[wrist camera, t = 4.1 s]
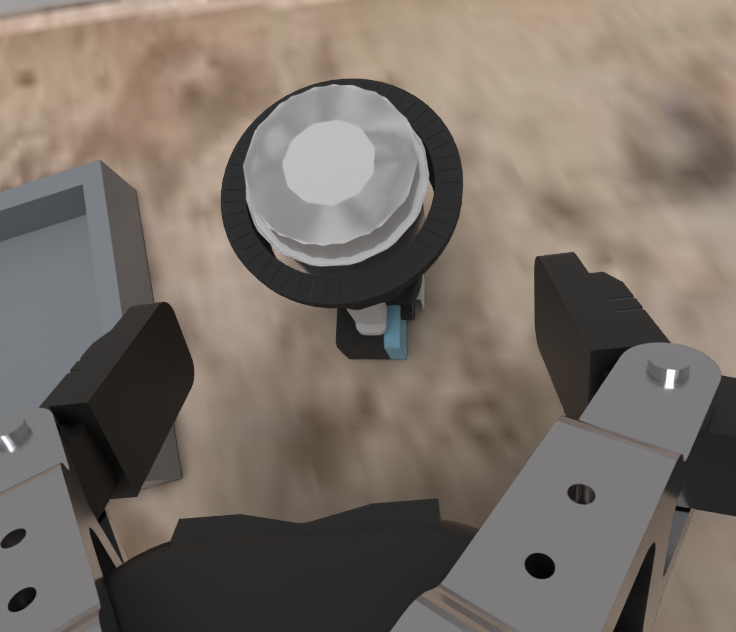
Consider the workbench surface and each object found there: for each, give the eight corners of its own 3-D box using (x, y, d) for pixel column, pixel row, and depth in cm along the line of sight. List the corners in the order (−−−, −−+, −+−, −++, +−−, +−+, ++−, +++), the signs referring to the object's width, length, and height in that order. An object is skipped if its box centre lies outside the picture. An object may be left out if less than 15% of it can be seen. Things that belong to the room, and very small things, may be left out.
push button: (321, 201, 22) (221, 5, 12) (457, 197, 21) (463, -15, 12) (310, 368, 20) (187, 290, 11) (457, 370, 20) (464, 289, 10)
